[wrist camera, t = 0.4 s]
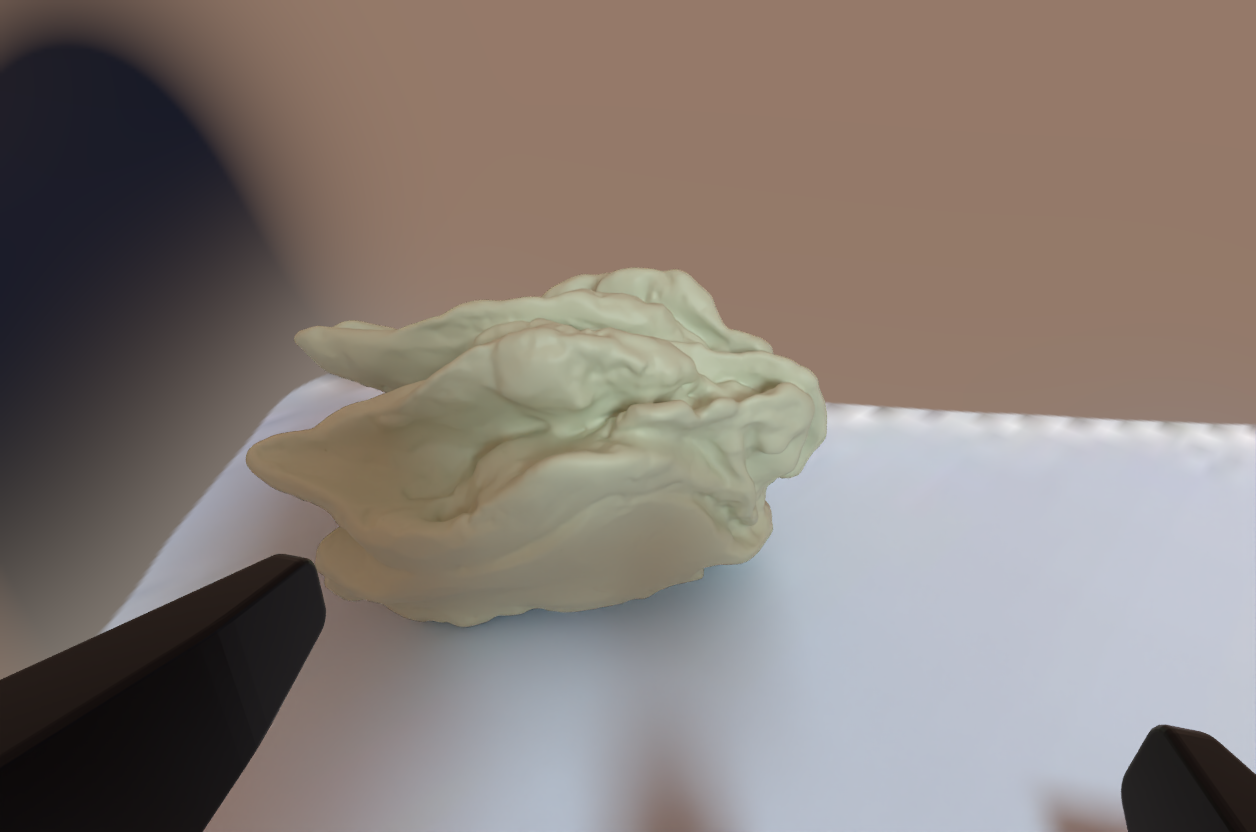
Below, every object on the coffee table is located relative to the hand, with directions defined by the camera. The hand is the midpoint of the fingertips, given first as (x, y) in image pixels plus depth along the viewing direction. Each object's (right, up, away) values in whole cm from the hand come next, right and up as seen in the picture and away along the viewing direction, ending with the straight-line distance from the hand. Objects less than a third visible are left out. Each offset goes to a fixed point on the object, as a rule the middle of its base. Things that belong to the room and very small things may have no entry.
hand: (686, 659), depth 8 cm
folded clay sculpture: (-4, -4, +22) cm, 22 cm away
